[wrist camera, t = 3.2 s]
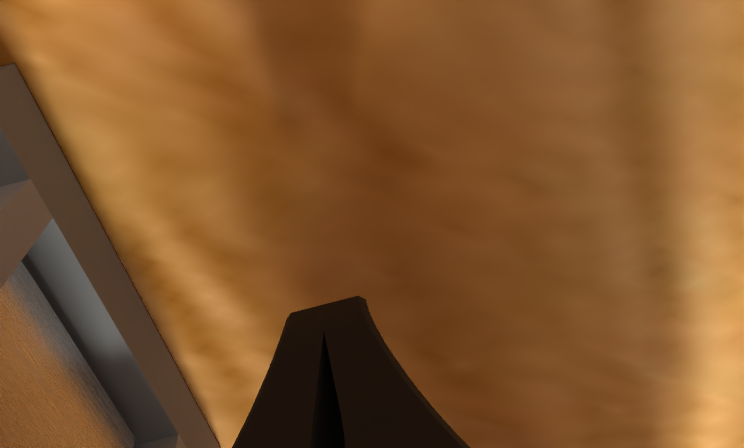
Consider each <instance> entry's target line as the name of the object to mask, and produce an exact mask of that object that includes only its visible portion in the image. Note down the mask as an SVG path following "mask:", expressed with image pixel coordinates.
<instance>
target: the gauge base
mask: <svg viewBox="0 0 744 448" xmlns="http://www.w3.org/2000/svg"><path fill="white" fill-rule="evenodd" d="M21 260H22V262H23V264H24V265H25V267H26V268H27V270H28V271H29V273H30V274H31V276H32V278H33V279H34V281H35V282H36V284H37V285H38V287H39V289H40V290H41V292H42V293H43V295H44V296H45V298H46V299H47V301H48V303H49V304H50V306H51V307H52V309H53V310H54V312H55V314H56V315H57V317H58V318H59V320H60V321H61V323H62V324H63V326H64V328H65V329H66V331H67V332H68V334H69V335H70V337H71V338H72V340H73V342H74V343H75V345H76V346H77V348H78V349H79V351H80V353H81V354H82V356H83V357H84V359H85V360H86V362H87V363H88V365H89V367H90V368H91V370H92V371H93V373H94V374H95V376H96V377H97V379H98V381H99V382H100V384H101V385H102V387H103V388H104V390H105V392H106V393H107V395H108V396H109V398H110V399H111V401H112V402H113V404H114V406H115V407H116V409H117V410H118V412H119V413H120V415H121V417H122V418H123V420H124V421H125V423H126V424H127V426H128V427H129V429H130V431H131V432H132V434H133V435H134V437H135V438H136V439H135V443H134V447H133V448H220V446H219V444H218V443H217V441H216V439H215V437H214V435H213V433H212V431H211V429H210V428H209V426H208V424H207V422H206V420H205V418H204V416H203V415H202V413H201V411H200V409H199V407H198V405H197V403H196V401H195V400H194V398H193V396H192V394H191V392H190V390H189V388H188V387H187V385H186V383H185V381H184V379H183V377H182V375H181V373H180V372H179V370H178V368H177V366H176V364H175V362H174V360H173V358H172V357H171V355H170V353H169V351H168V349H167V347H166V345H165V344H164V342H163V340H162V338H161V336H160V334H159V332H158V330H157V329H156V327H155V325H154V323H153V321H152V319H151V317H150V315H149V314H148V312H147V310H146V308H145V306H144V304H143V302H142V301H141V299H140V297H139V295H138V293H137V291H136V289H135V287H134V286H133V284H132V282H131V280H130V278H129V276H128V274H127V273H126V271H125V269H124V267H123V265H122V263H121V261H120V259H119V258H118V256H117V254H116V252H115V250H114V248H113V246H112V244H111V243H110V241H109V239H108V237H107V235H106V233H105V231H104V230H103V228H102V226H101V224H100V222H99V220H98V218H97V216H96V215H95V213H94V211H93V209H92V207H91V205H90V203H89V201H88V200H87V198H86V196H85V194H84V192H83V190H82V188H81V187H80V185H79V183H78V181H77V179H76V177H75V175H74V173H73V172H72V170H71V168H70V166H69V164H68V162H67V160H66V159H65V157H64V155H63V153H62V151H61V149H60V147H59V145H58V144H57V142H56V140H55V138H54V136H53V134H52V132H51V130H50V129H49V127H48V125H47V123H46V121H45V119H44V117H43V116H42V114H41V112H40V110H39V108H38V106H37V104H36V102H35V101H34V99H33V97H32V95H31V93H30V91H29V89H28V87H27V86H26V84H25V82H24V80H23V78H22V76H21V74H20V73H19V71H18V69H17V67H16V65H15V63H13V64H9V65H5V66H1V67H0V289H1V288H2V286H3V285H4V283H5V282H6V281H7V279H8V278H9V277H10V275H11V274H12V273H13V271H14V270H15V269H16V267H17V266H18V264H19V263H20V262H21Z"/></svg>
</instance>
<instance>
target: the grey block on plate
mask: <svg viewBox="0 0 744 448" xmlns="http://www.w3.org/2000/svg"><path fill="white" fill-rule="evenodd" d="M135 439H136V438H135V437H134V435H133V434H132V432H131V431H130V429H129V427H128V426H127V424H126V423H125V421H124V420H123V418H122V417H121V415H120V413H119V412H118V410H117V409H116V407H115V406H114V404H113V402H112V401H111V399H110V398H109V396H108V395H107V393H106V392H105V390H104V388H103V387H102V385H101V384H100V382H99V381H98V379H97V377H96V376H95V374H94V373H93V371H92V370H91V368H90V367H89V365H88V363H87V362H86V360H85V359H84V357H83V356H82V354H81V353H80V351H79V349H78V348H77V346H76V345H75V343H74V342H73V340H72V338H71V337H70V335H69V334H68V332H67V331H66V329H65V328H64V326H63V324H62V323H61V321H60V320H59V318H58V317H57V315H56V314H55V312H54V310H53V309H52V307H51V306H50V304H49V303H48V301H47V299H46V298H45V296H44V295H43V293H42V292H41V290H40V289H39V287H38V285H37V284H36V282H35V281H34V279H33V278H32V276H31V274H30V273H29V271H28V270H27V268H26V267H25V265H24V264H23V262H22V260H21V262H20V263H19V264H18V266H17V267H16V269H15V270H14V271H13V273H12V274H11V275H10V277H9V278H8V279H7V281H6V282H5V283H4V285H3V286H2V288H1V289H0V448H133V447H134V443H135Z"/></svg>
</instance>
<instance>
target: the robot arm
mask: <svg viewBox="0 0 744 448" xmlns="http://www.w3.org/2000/svg"><path fill="white" fill-rule="evenodd" d="M232 448H470V447H469V446H468V445H467V444H466V443H465V442H464V441H463V440H462V439H461V438H460V437H459V436H458V435H457V434H456V433H455V432H454V431H453V430H452V428H451V427H450V426H449V425H448V424H447V423H446V422H445V421H444V420H443V419H442V417H441V416H440V415H439V414H438V413H437V412H436V410H435V409H434V408H433V407H432V406H431V405H430V403H429V402H428V401H427V400H426V398H425V397H424V396H423V395H422V394H421V392H420V391H419V390H418V389H417V387H416V386H415V385H414V383H413V382H412V381H411V380H410V378H409V377H408V376H407V374H406V373H405V371H404V370H403V368H402V367H401V366H400V364H399V363H398V361H397V360H396V359H395V357H394V356H393V354H392V353H391V351H390V350H389V348H388V347H387V345H386V343H385V342H384V340H383V338H382V337H381V335H380V333H379V331H378V330H377V328H376V326H375V324H374V322H373V320H372V318H371V315H370V313H369V310H368V306H367V303H366V300H365V299H363V298H362V297H360V296H355V297H351V298H347V299H344V300H340V301H336V302H332V303H328V304H324V305H320V306H316V307H312V308H308V309H305V310H301V311H297V312H293V313H291V314H290V315H289V317H288V318H287V320H286V323H285V326H284V329H283V332H282V335H281V338H280V340H279V343H278V346H277V349H276V351H275V354H274V357H273V359H272V362H271V364H270V367H269V369H268V372H267V374H266V377H265V379H264V381H263V383H262V386H261V388H260V390H259V393H258V395H257V397H256V399H255V402H254V404H253V406H252V409H251V411H250V413H249V415H248V417H247V419H246V421H245V423H244V425H243V427H242V429H241V431H240V433H239V435H238V437H237V439H236V441H235V443H234V445H233V447H232Z"/></svg>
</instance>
